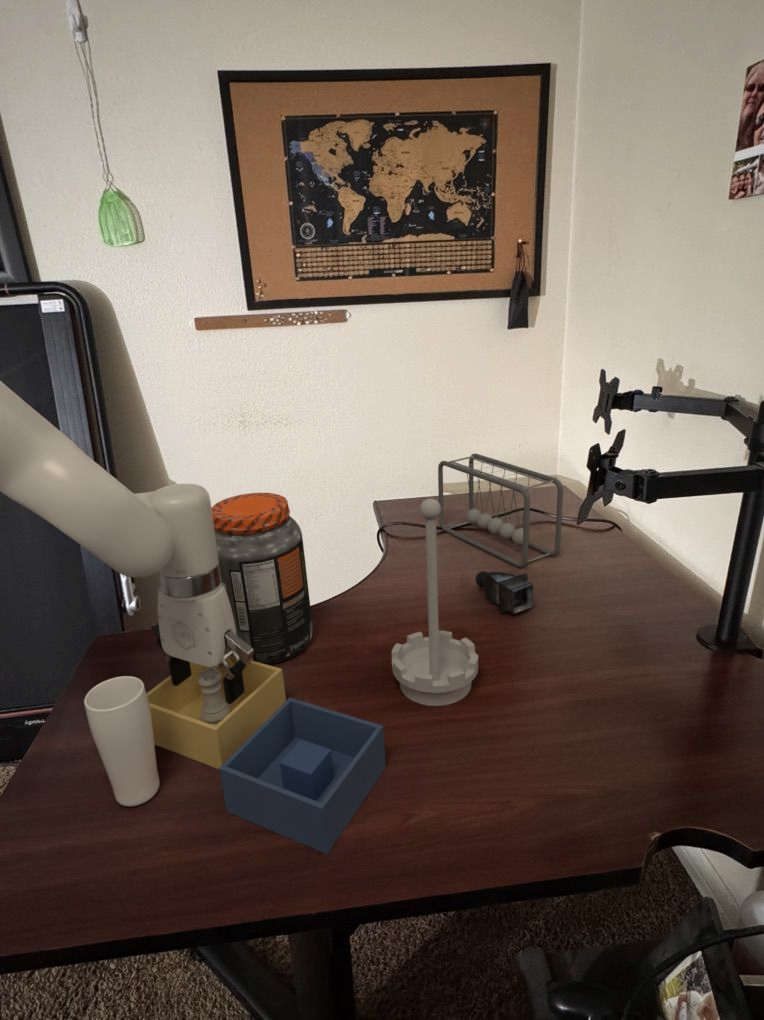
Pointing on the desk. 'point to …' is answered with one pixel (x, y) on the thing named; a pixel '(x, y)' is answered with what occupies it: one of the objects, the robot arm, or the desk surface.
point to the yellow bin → (216, 744)
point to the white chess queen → (212, 697)
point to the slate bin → (312, 823)
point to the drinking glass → (124, 737)
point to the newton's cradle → (496, 524)
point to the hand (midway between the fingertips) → (208, 689)
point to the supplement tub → (264, 574)
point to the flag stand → (434, 642)
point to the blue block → (307, 769)
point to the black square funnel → (507, 590)
